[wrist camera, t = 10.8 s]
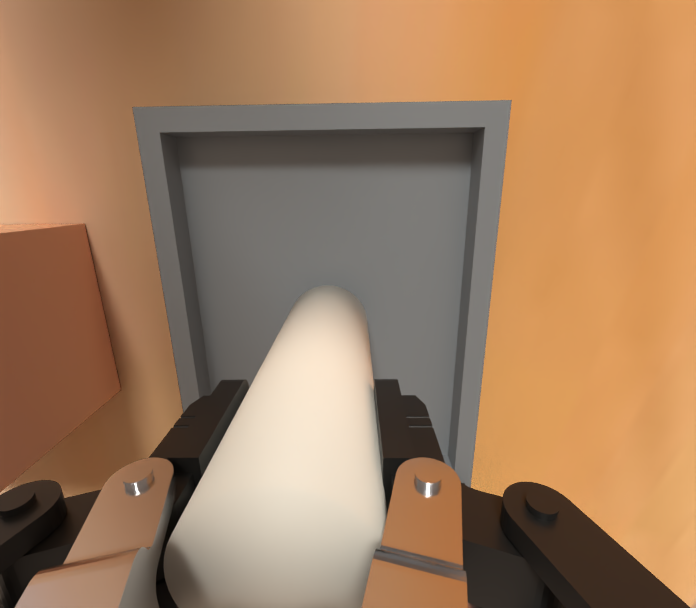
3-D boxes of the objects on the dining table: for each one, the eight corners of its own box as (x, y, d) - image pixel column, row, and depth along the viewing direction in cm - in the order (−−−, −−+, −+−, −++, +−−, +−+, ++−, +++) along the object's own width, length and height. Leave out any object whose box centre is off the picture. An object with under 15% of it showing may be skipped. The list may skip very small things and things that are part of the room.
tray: (161, 118, 18) (132, 107, 15) (490, 112, 18) (511, 100, 15) (211, 457, 24) (196, 487, 21) (458, 457, 23) (470, 487, 21)
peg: (287, 285, 18) (144, 486, 6) (367, 285, 18) (396, 486, 6) (292, 358, 19) (181, 655, 7) (367, 358, 19) (391, 657, 7)
